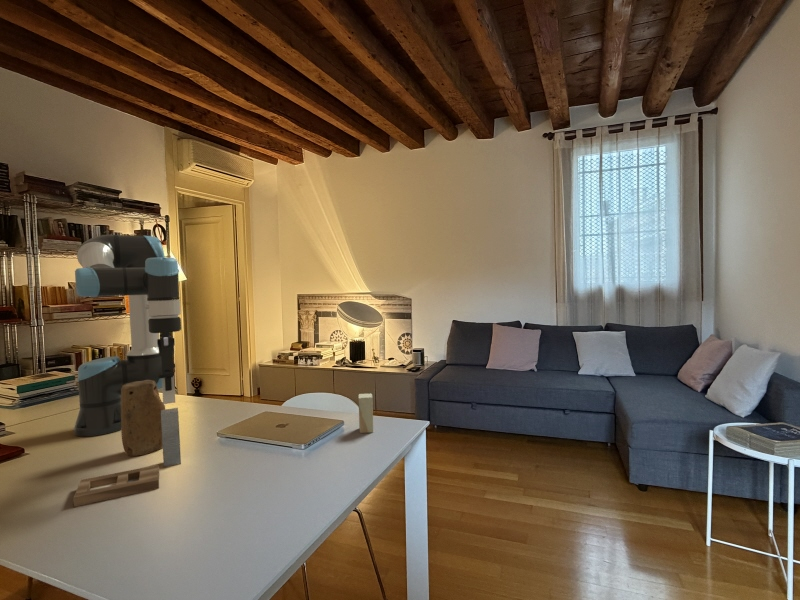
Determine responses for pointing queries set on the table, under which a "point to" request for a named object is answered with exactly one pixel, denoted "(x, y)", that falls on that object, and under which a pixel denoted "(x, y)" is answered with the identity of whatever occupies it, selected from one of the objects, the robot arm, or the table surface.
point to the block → (141, 417)
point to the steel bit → (170, 437)
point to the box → (365, 413)
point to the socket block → (117, 485)
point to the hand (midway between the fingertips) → (169, 397)
